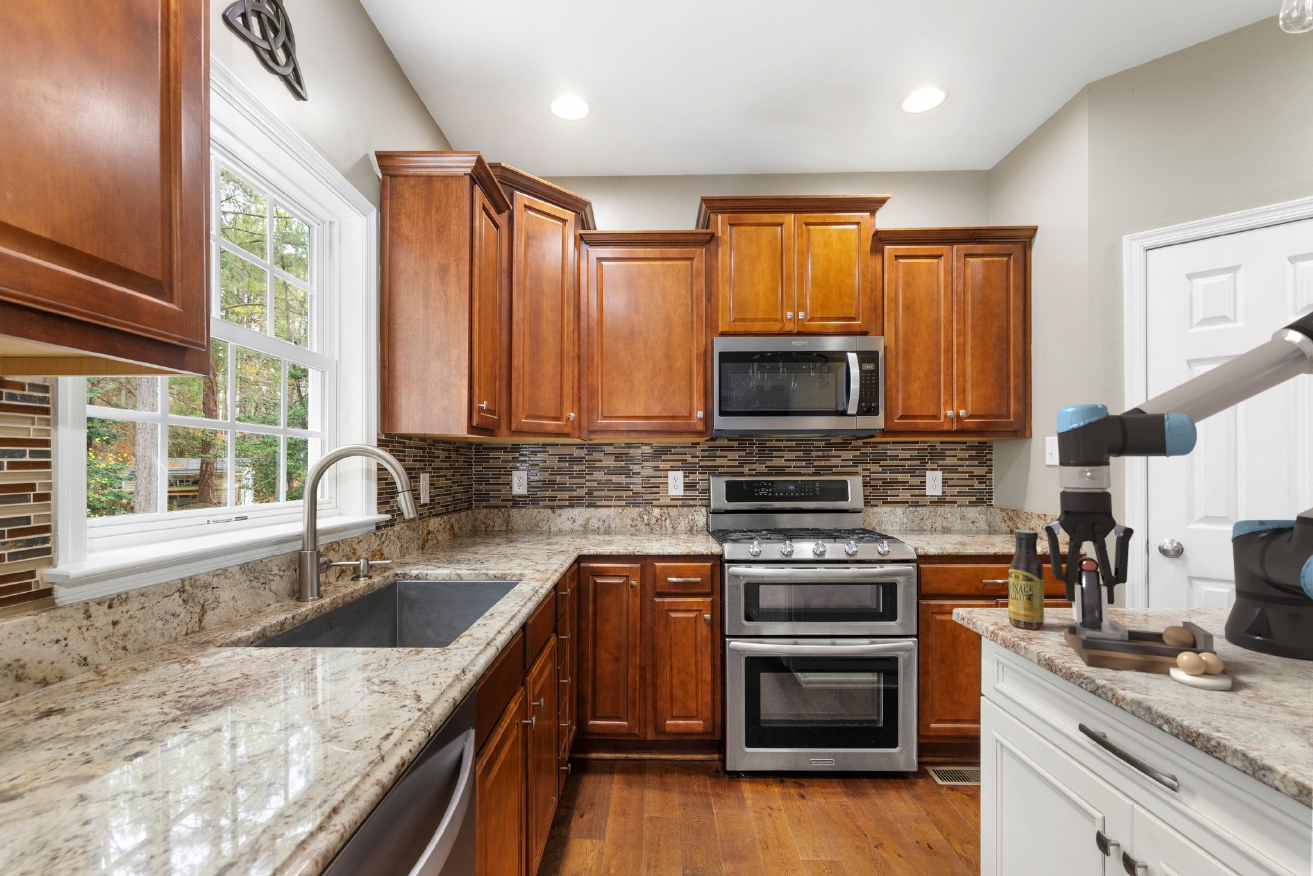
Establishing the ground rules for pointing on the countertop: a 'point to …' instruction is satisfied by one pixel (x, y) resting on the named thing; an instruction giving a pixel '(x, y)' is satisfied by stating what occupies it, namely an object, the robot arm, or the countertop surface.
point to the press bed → (1138, 650)
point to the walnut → (1178, 637)
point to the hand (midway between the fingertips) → (1090, 620)
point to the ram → (1095, 606)
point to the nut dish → (1202, 680)
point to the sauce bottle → (1026, 583)
